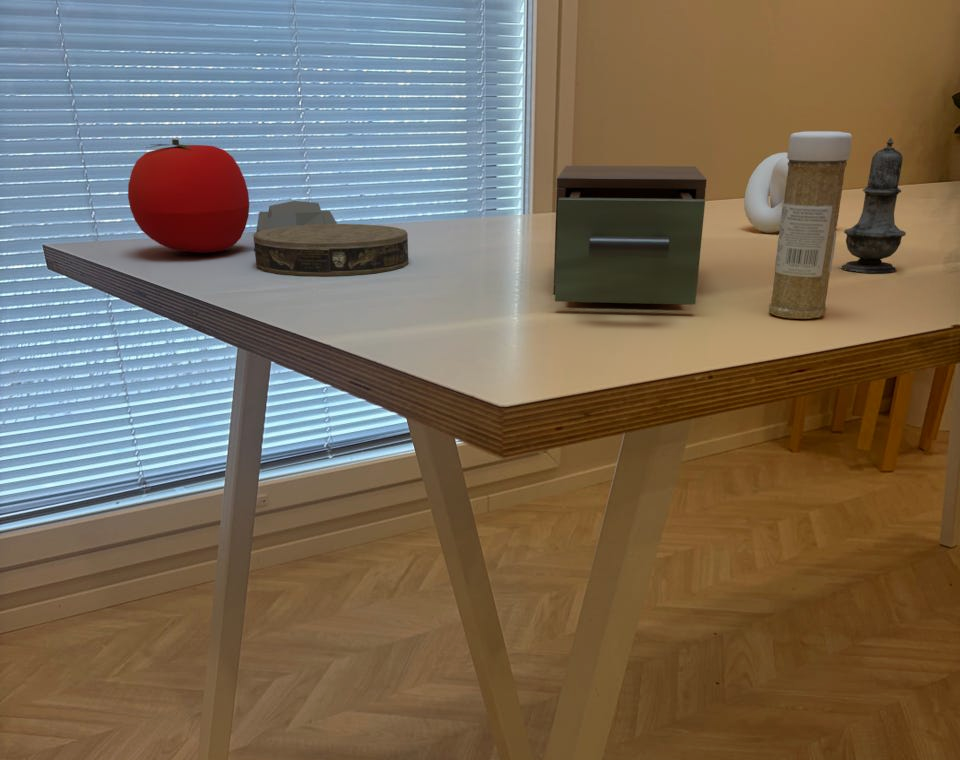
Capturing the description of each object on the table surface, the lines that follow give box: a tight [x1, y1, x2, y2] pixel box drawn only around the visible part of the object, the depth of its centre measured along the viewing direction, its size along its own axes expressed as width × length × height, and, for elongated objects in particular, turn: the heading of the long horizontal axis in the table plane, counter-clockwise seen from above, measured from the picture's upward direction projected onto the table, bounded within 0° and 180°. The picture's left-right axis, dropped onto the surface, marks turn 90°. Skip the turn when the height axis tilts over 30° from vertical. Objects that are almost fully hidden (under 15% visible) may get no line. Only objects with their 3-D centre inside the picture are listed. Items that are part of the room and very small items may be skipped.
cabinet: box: [552, 165, 708, 295], centre depth 96 cm, size 15×13×10 cm
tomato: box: [127, 138, 250, 254], centre depth 112 cm, size 12×14×11 cm
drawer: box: [554, 188, 706, 306], centre depth 86 cm, size 18×11×8 cm, turn 173°
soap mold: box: [253, 200, 338, 252], centre depth 125 cm, size 10×20×4 cm, turn 10°
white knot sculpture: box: [743, 152, 789, 234], centre depth 129 cm, size 11×12×9 cm
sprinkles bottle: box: [768, 130, 853, 320], centre depth 81 cm, size 5×5×14 cm
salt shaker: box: [841, 137, 907, 274], centre depth 102 cm, size 6×6×12 cm
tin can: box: [253, 223, 409, 277], centre depth 107 cm, size 16×16×3 cm
